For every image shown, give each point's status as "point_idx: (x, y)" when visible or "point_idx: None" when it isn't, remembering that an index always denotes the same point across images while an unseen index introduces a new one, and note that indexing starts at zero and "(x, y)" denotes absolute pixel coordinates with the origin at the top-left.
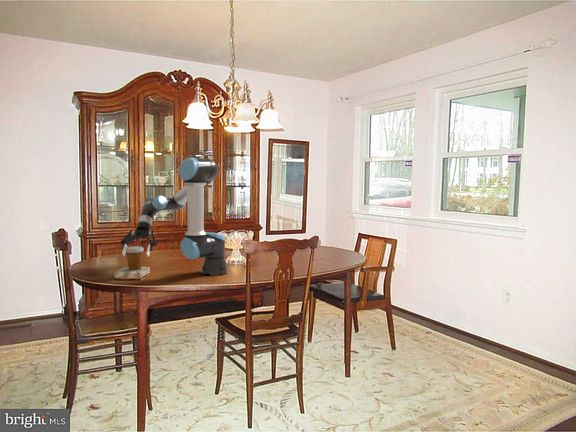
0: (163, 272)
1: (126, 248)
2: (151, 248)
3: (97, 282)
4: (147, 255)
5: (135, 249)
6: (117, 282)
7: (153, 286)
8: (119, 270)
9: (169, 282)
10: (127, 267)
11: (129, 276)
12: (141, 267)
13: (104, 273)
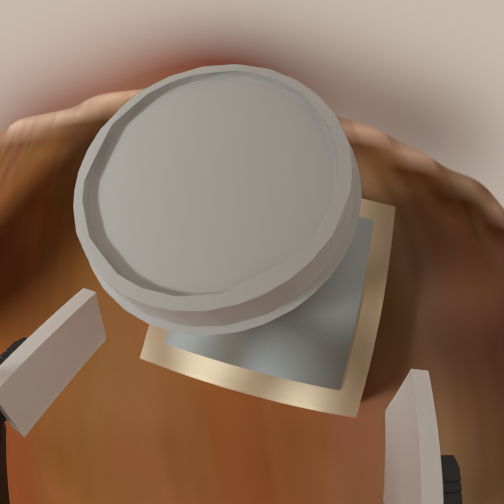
0: (86, 383)
1: (329, 109)
2: (10, 347)
3: (444, 176)
4: (96, 318)
5: (187, 77)
6: None
7: None
8: (369, 240)
9: (85, 148)
10: (327, 354)
11: None
12: (202, 336)
13: (475, 406)
